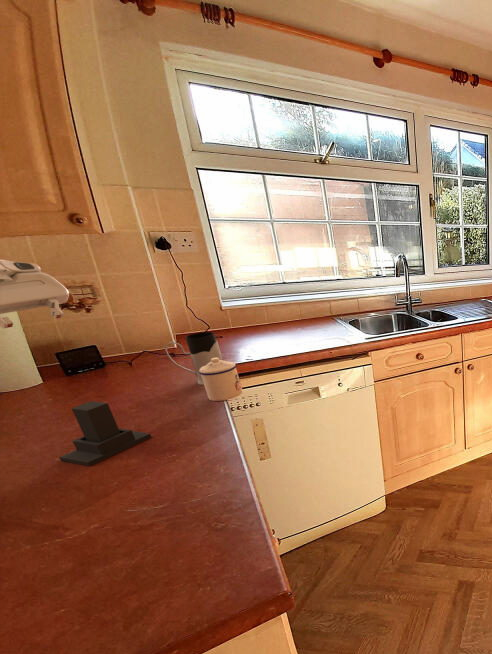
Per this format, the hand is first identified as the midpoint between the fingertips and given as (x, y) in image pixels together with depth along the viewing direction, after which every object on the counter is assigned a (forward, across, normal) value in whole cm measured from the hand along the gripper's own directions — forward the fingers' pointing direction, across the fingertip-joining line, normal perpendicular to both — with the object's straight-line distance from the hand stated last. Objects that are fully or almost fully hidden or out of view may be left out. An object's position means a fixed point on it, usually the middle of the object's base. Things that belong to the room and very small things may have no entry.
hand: (35, 320), depth 99 cm
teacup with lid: (+34, +24, +5) cm, 42 cm away
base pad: (+34, -8, +4) cm, 35 cm away
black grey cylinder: (+22, +31, +17) cm, 42 cm away
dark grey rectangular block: (+34, -8, +4) cm, 35 cm away
